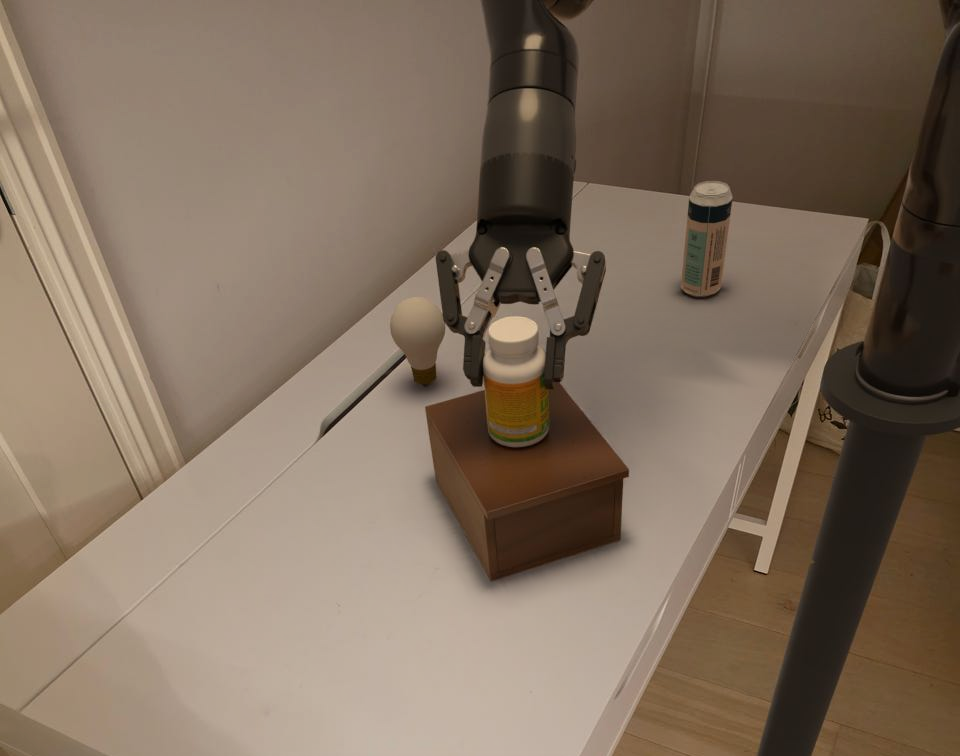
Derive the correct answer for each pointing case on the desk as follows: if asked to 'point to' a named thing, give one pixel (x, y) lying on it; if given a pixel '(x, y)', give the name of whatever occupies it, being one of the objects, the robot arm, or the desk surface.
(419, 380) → the light bulb
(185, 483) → the desk surface
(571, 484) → the lid
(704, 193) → the beer can
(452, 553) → the desk surface
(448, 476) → the chest
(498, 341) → the supplement bottle
